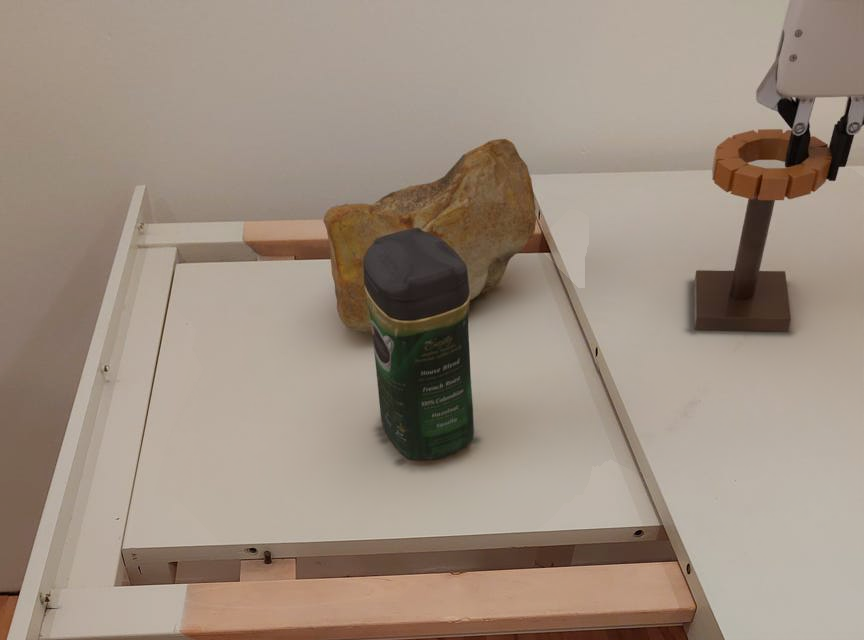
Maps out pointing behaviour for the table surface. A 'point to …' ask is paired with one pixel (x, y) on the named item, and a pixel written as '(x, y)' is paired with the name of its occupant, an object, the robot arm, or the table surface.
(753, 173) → the ring
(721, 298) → the post stand
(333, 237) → the rough brown rock
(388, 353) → the coffee jar
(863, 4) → the robot arm
